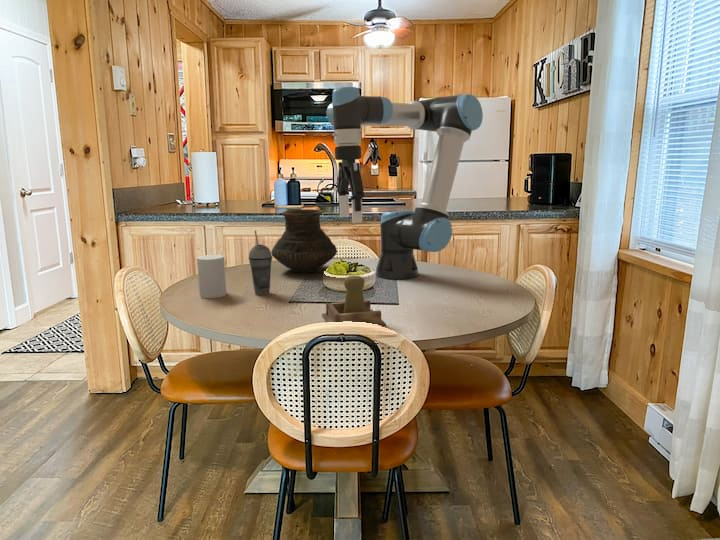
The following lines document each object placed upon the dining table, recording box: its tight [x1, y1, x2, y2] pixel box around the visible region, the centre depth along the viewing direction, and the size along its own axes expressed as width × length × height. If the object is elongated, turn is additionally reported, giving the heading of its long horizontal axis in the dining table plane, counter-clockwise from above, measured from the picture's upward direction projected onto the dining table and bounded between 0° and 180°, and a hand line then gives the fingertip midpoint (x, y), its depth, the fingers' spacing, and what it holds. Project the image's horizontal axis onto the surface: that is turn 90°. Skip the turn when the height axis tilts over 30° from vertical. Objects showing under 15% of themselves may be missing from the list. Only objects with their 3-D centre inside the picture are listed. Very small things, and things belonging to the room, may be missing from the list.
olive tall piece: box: [343, 275, 365, 313], centre depth 132 cm, size 6×6×11 cm
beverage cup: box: [248, 229, 273, 296], centre depth 159 cm, size 7×7×20 cm
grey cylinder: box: [196, 254, 227, 299], centre depth 159 cm, size 8×8×12 cm
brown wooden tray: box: [321, 299, 387, 327], centre depth 133 cm, size 14×13×4 cm
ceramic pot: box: [270, 208, 338, 273], centre depth 192 cm, size 24×24×22 cm
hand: (350, 219), depth 149 cm, fingers open, 13 cm apart
